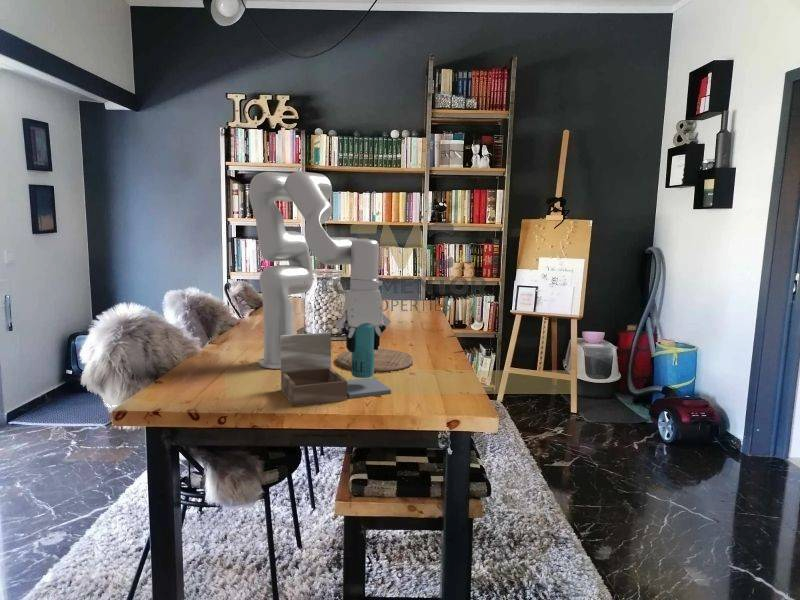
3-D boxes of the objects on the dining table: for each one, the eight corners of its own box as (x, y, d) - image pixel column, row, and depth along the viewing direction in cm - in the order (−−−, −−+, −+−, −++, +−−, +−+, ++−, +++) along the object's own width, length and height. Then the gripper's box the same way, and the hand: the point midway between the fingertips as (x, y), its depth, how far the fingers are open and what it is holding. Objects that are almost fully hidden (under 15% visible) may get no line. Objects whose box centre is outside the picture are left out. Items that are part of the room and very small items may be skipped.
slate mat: (335, 385, 148) (335, 381, 148) (374, 380, 153) (374, 377, 153) (349, 398, 138) (349, 394, 138) (391, 393, 143) (391, 389, 143)
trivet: (404, 377, 159) (404, 371, 159) (326, 370, 164) (326, 364, 164) (418, 356, 184) (418, 351, 183) (349, 351, 189) (350, 346, 188)
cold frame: (280, 389, 144) (280, 335, 141) (329, 383, 149) (330, 332, 147) (293, 406, 130) (293, 347, 128) (346, 400, 136) (347, 343, 134)
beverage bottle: (374, 376, 149) (376, 307, 146) (373, 384, 142) (375, 311, 139) (351, 376, 148) (352, 306, 145) (349, 383, 142) (351, 310, 139)
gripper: (388, 283, 148) (386, 344, 151) (329, 284, 141) (328, 349, 144) (399, 286, 142) (397, 350, 144) (337, 288, 134) (337, 356, 137)
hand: (362, 349), depth 144 cm, fingers closed on beverage bottle, 6 cm apart
